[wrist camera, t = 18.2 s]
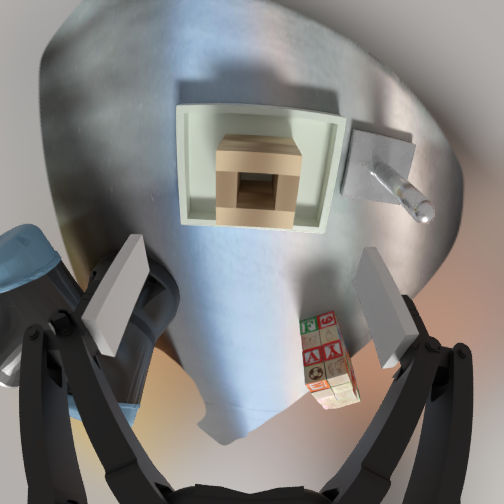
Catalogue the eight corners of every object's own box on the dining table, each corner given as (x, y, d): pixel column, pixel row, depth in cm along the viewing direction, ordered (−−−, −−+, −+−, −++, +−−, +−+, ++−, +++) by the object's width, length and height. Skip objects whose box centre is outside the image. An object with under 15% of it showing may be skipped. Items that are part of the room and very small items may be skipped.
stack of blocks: (353, 365, 54) (363, 414, 44) (326, 373, 56) (333, 422, 46) (333, 309, 43) (348, 374, 33) (297, 320, 44) (304, 386, 34)
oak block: (224, 193, 31) (216, 224, 25) (225, 133, 27) (215, 150, 21) (285, 197, 31) (292, 229, 25) (292, 138, 27) (302, 156, 21)
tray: (186, 214, 33) (181, 224, 31) (182, 103, 25) (176, 105, 23) (320, 223, 33) (324, 233, 31) (339, 114, 25) (346, 118, 23)
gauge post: (340, 193, 31) (375, 254, 21) (352, 128, 26) (404, 162, 16) (396, 201, 31) (444, 259, 21) (412, 142, 26) (475, 183, 16)
